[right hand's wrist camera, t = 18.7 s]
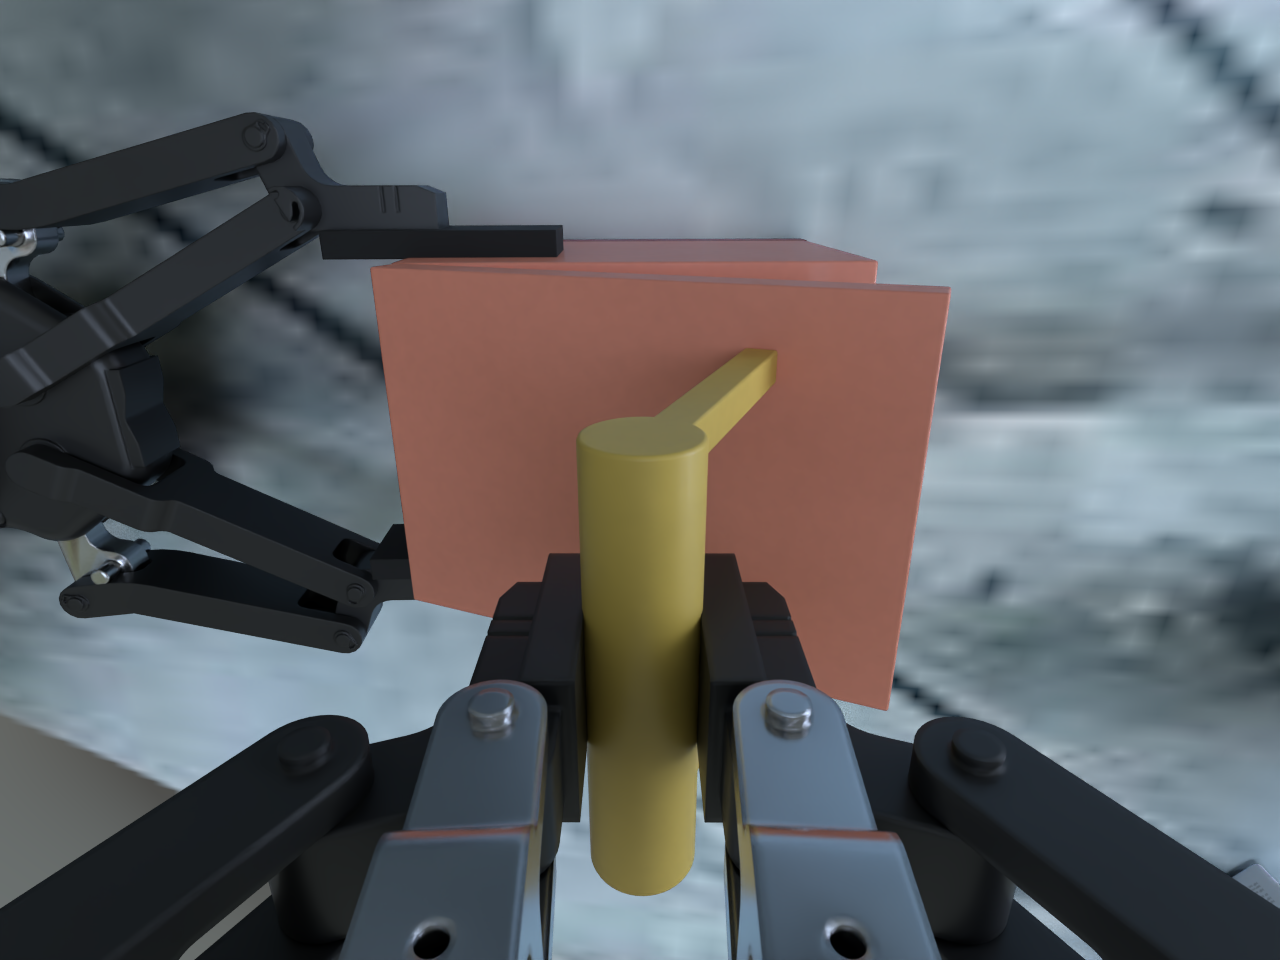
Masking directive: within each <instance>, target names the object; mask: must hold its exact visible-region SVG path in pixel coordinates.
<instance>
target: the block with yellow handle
mask: <svg viewBox="0 0 1280 960" xmlns="http://www.w3.org/2000/svg"><path fill="white" fill-rule="evenodd" d="M370 270H371V278H372V286H373V293H374V301H375V308H376V316H377V323H378V331H379V338H380V346H381V353H382V361H383V368H384V376H385V383H386V391H387V399H388V406H389V414H390V421H391V429H392V436H393V444H394V451H395V459H396V466H397V474H398V481H399V489H400V497H401V504H402V512H403V519H404V527H405V534H406V542H407V549H408V557H409V564H410V572H411V579H412V587H413V594H414V599H415V600H419V601H423V602H427V603H432V604H436V605H440V606H444V607H449V608H453V609H457V610H461V611H466V612H470V613H474V614H478V615H482V616H487V617H491V618H493V615H494V612H495V609H496V606H497V603H498V600H499V598H500V597H501V596H502V595H503V594H504V593H505V592H506V591H508V590H509V589H510V588H511V587H512V586H513V585H514V584H515V583H517V582H542V579H543V575H544V571H545V567H546V563H547V559H548V555H549V553H580V567H581V595H582V611H583V618H584V648H585V677H586V707H587V737H588V742H587V762H588V790H589V817H590V845H591V859H592V862H593V865H594V868H595V869H596V871H597V873H598V874H599V876H600V877H601V878H602V879H603V880H604V881H605V882H606V883H607V884H608V885H609V886H611V887H612V888H614V889H616V890H618V891H620V892H623V893H626V894H629V895H635V896H651V895H656V894H660V893H663V892H665V891H667V890H670V889H671V888H673V887H675V886H676V885H677V884H678V883H680V882H681V881H682V880H683V879H684V877H685V876H686V875H687V873H688V872H689V870H690V868H691V866H692V863H693V860H694V854H695V825H696V796H697V771H698V768H699V761H698V751H697V719H698V690H699V662H700V633H701V614H702V611H703V593H704V564H705V553H734V554H735V556H736V560H737V564H738V568H739V572H740V575H741V579H742V582H767V583H768V584H769V585H771V586H772V587H773V588H774V589H775V590H776V591H777V592H778V593H780V594H781V595H782V596H783V597H784V598H785V600H786V603H787V606H788V609H789V612H790V614H791V620H793V623H794V626H795V629H796V631H797V636H798V637H799V640H800V643H801V646H802V648H803V651H804V654H805V657H806V660H807V663H808V665H809V668H810V671H811V674H812V677H813V680H814V682H815V685H816V688H817V689H819V690H820V691H822V692H824V693H825V694H827V695H828V696H829V697H831V698H834V699H838V700H842V701H846V702H851V703H855V704H859V705H863V706H867V707H872V708H876V709H880V710H884V711H887V710H888V707H889V701H890V694H891V687H892V681H893V674H894V668H895V661H896V654H897V648H898V641H899V634H900V628H901V621H902V615H903V608H904V601H905V595H906V588H907V581H908V575H909V568H910V561H911V555H912V548H913V542H914V535H915V528H916V522H917V515H918V508H919V502H920V495H921V489H922V482H923V475H924V469H925V462H926V455H927V449H928V442H929V436H930V429H931V422H932V416H933V409H934V402H935V396H936V389H937V383H938V376H939V369H940V363H941V356H942V349H943V343H944V336H945V329H946V323H947V316H948V310H949V303H950V296H951V288H950V287H943V286H919V285H895V284H872V283H848V282H824V281H800V280H776V279H753V278H729V277H705V276H681V275H657V274H634V273H610V272H586V271H562V270H538V269H515V268H491V267H467V266H443V265H419V264H390V265H383V266H376V267H371V269H370Z"/></svg>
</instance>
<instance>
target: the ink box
mask: <svg viewBox="0 0 1280 960" xmlns="http://www.w3.org/2000/svg"><path fill="white" fill-rule="evenodd" d="M1232 878H1233V879H1235V880H1237V881H1238V882H1240V883H1241V884H1243V885H1244V886H1246V887H1247V888H1249V889H1250V890H1252V891H1253V892H1255V893H1256V894H1258V895H1260V896H1261V897H1263V898H1264V899H1266V900H1267V901H1269V902H1270V903H1272V904H1273V905H1275V906H1276V907H1278V908H1280V884H1279V883H1278V882H1277V881H1276V880H1275V879H1274V878H1273V877H1272V876H1271V875H1270V874H1269V873H1268V872H1267V871H1266V870H1265V869H1264V868H1263V867H1262V866H1261V865H1260V864H1253V865H1251V866H1249V867H1248V868H1246V869H1245V870H1243V871H1241V872H1240V873H1238V874H1236V875H1235V876H1233V877H1232Z"/></svg>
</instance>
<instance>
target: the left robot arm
mask: <svg viewBox="0 0 1280 960" xmlns="http://www.w3.org/2000/svg"><path fill="white" fill-rule="evenodd" d="M313 147H314V144H313V139H312V136H311V134H310V133H309V131H308V129H307V128H306V127H305V126H303V125H302V124H301V123H299V122H296V121H294V120H290V119H285V118H280V117H275V116H270V115H265V114H260V113H256V112H251V113H243V114H240V115H237V116H233V117H230V118H227V119H223V120H220V121H217V122H213V123H210V124H207V125H203V126H200V127H197V128H193V129H190V130H187V131H183V132H180V133H177V134H173V135H170V136H167V137H163V138H160V139H156V140H153V141H150V142H146V143H143V144H140V145H136V146H133V147H130V148H126V149H123V150H120V151H116V152H113V153H110V154H106V155H103V156H100V157H96V158H93V159H90V160H86V161H83V162H80V163H76V164H73V165H70V166H66V167H63V168H60V169H56V170H53V171H50V172H46V173H43V174H40V175H36V176H33V177H30V178H26V179H23V180H19V179H0V528H15V529H20V530H23V531H27V532H29V533H32V534H34V535H37V536H39V537H42V538H44V539H48V540H53V541H58V543H59V546H60V548H61V550H62V552H63V555H64V557H65V559H66V562H67V564H68V566H69V568H70V571H71V573H72V575H73V578H74V580H75V582H74V583H72V584H71V585H70V586H68V587H67V588H65V589H64V590H63V591H62V592H61V593H60V596H59V601H60V605H61V606H62V608H63V609H64V611H66V612H67V613H68V614H70V615H72V616H74V617H77V618H92V617H102V616H112V615H122V614H132V613H135V614H140V615H146V616H151V617H156V618H161V619H167V620H172V621H177V622H182V623H188V624H193V625H198V626H203V627H209V628H214V629H219V630H224V631H230V632H235V633H240V634H245V635H251V636H256V637H261V638H266V639H272V640H277V641H282V642H287V643H293V644H298V645H303V646H308V647H314V648H319V649H324V650H329V651H335V652H340V653H351V652H354V651H356V650H357V649H358V648H360V646H361V644H362V642H363V641H364V639H365V637H366V635H367V634H368V632H369V630H370V628H371V626H372V625H373V623H374V621H375V619H376V618H377V616H378V614H379V612H380V610H381V608H382V606H383V603H382V602H384V601H389V600H415V599H414V594H413V587H412V579H411V572H410V564H409V557H408V549H407V542H406V534H405V527H404V524H393V525H392V527H391V528H390V530H389V531H388V533H387V534H386V536H385V537H384V539H383V540H382V542H381V543H380V544H379V543H377V542H375V541H372V540H370V539H368V538H365V537H363V536H361V535H358V534H356V533H354V532H352V531H349V530H347V529H345V528H342V527H340V526H338V525H335V524H333V523H331V522H328V521H326V520H324V519H321V518H319V517H317V516H315V515H312V514H310V513H308V512H305V511H303V510H301V509H298V508H296V507H294V506H291V505H289V504H287V503H284V502H282V501H280V500H277V499H275V498H273V497H271V496H268V495H266V494H264V493H261V492H259V491H257V490H254V489H252V488H250V487H247V486H245V485H243V484H240V483H238V482H236V481H234V480H231V479H229V478H227V477H224V476H222V475H220V474H218V473H216V472H215V471H214V468H213V465H212V464H211V463H210V462H208V461H206V460H204V459H202V458H200V457H197V456H195V455H193V454H190V453H188V452H186V451H183V450H181V449H179V447H180V443H179V439H178V435H177V431H176V427H175V424H174V422H173V420H172V418H171V417H170V415H169V413H168V411H167V409H166V407H165V405H164V403H163V380H164V378H163V374H162V370H161V366H160V362H159V358H158V356H149V354H148V352H147V351H146V349H145V348H144V347H145V346H146V345H148V344H150V343H151V342H153V341H155V340H156V339H158V338H159V337H161V336H163V335H164V334H166V333H168V332H169V331H171V330H172V329H174V328H176V327H177V326H178V325H180V322H181V321H183V320H184V319H186V318H188V317H189V316H191V315H193V314H194V313H196V312H197V311H199V310H201V309H202V308H204V307H206V306H207V305H209V304H210V303H212V302H214V301H215V300H217V299H219V298H220V297H222V296H223V295H225V294H227V293H228V292H230V291H231V290H233V289H235V288H236V287H238V286H240V285H241V284H243V283H244V282H246V281H248V280H249V279H251V278H253V277H254V276H256V275H257V274H259V273H261V272H262V271H264V270H266V269H267V268H269V267H270V266H272V265H274V264H275V263H277V262H279V261H280V260H282V259H283V258H285V257H287V256H288V255H290V254H291V253H293V252H295V251H296V250H298V249H300V248H301V247H303V246H304V245H306V244H308V243H309V242H311V241H313V240H314V239H316V238H317V237H320V244H321V250H322V256H323V259H406V258H499V257H558V255H559V254H560V253H561V252H562V251H563V250H564V249H563V225H502V226H449V220H448V210H447V199H446V193H445V192H443V191H441V190H438V189H436V188H433V187H431V186H428V185H382V186H347V185H341V184H339V183H336V182H335V181H333V180H332V179H330V178H329V177H328V176H327V175H326V174H325V173H324V171H323V170H322V168H321V167H320V165H319V162H318V160H317V158H316V156H315V154H314V152H313ZM258 176H260V177H261V179H262V181H263V183H264V185H265V187H266V189H267V191H268V193H269V195H267V196H266V197H264V198H263V199H261V200H260V201H258V202H256V203H255V204H253V205H252V206H250V207H249V208H247V209H245V210H244V211H242V212H241V213H239V214H238V215H236V216H234V217H233V218H231V219H230V220H228V221H227V222H225V223H223V224H222V225H220V226H219V227H217V228H216V229H214V230H212V231H211V232H209V233H208V234H206V235H205V236H203V237H201V238H200V239H198V240H197V241H195V242H193V243H192V244H190V245H189V246H187V247H186V248H184V249H182V250H181V251H179V252H178V253H176V254H175V255H173V256H171V257H170V258H168V259H167V260H165V261H164V262H162V263H160V264H159V265H157V266H156V267H154V268H153V269H151V270H149V271H148V272H146V273H145V274H143V275H142V276H140V277H138V278H137V279H135V280H134V281H132V282H131V283H129V284H127V285H126V286H124V287H123V288H121V289H120V290H118V291H116V292H115V293H113V294H112V295H110V296H109V297H107V298H105V299H103V300H101V301H99V302H96V303H94V304H91V305H89V306H87V307H85V306H83V305H81V304H80V303H78V302H76V301H75V300H73V299H71V298H70V297H68V296H66V295H65V294H63V293H61V292H60V291H58V290H56V289H55V288H53V287H51V286H50V285H48V284H46V283H45V282H43V281H41V280H39V279H38V278H36V277H34V276H31V275H29V266H30V262H31V261H32V260H33V258H35V257H36V256H38V255H42V254H47V253H50V252H52V251H54V250H55V248H56V247H57V245H58V242H59V241H61V240H63V238H64V230H63V228H62V227H66V226H78V225H90V224H95V223H100V222H104V221H108V220H111V219H115V218H118V217H122V216H125V215H128V214H132V213H135V212H139V211H142V210H145V209H149V208H152V207H156V206H159V205H163V204H166V203H169V202H173V201H176V200H180V199H183V198H186V197H190V196H193V195H197V194H200V193H204V192H207V191H210V190H214V189H217V188H221V187H224V186H227V185H231V184H234V183H238V182H241V181H245V180H248V179H251V178H255V177H258ZM155 480H157V481H159V482H157V483H155V484H154V485H150V484H152V483H153V482H154V481H155ZM149 485H150V486H149ZM109 518H110V519H113V520H115V521H118V522H120V523H123V524H125V525H128V526H130V527H132V528H135V529H137V530H141V531H145V532H156V531H167V532H171V533H173V534H176V535H178V536H180V537H183V538H185V539H188V540H190V541H193V542H195V543H197V544H200V545H202V546H205V547H207V548H210V549H212V550H214V551H217V552H219V553H222V554H224V555H227V556H229V557H232V558H234V559H236V560H239V561H241V562H244V563H241V562H236V561H231V560H226V559H221V558H216V557H211V556H206V555H201V554H196V553H191V552H185V551H179V550H165V549H160V550H151V546H150V544H149V542H147V541H146V540H144V539H137V540H135V541H131V540H124V539H119V538H117V537H114V536H113V535H111V534H110V533H109V532H108V531H107V530H106V528H105V527H104V525H103V523H104V522H105V521H106V520H108V519H109Z"/></svg>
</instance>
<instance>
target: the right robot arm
mask: <svg viewBox="0 0 1280 960" xmlns="http://www.w3.org/2000/svg"><path fill="white" fill-rule="evenodd" d="M587 742H588V737H587V707H586V677H585V648H584V618H583V611H582V595H581V567H580V553H549V555H548V559H547V563H546V567H545V571H544V575H543V579H542V582H517V583H515V584H514V585H513V586H512V587H511V588H510V589H509V590H508V591H506V592H505V593H504V594H503V595H502V596H501V597H500V598H499V600H498V603H497V606H496V609H495V612H494V615H493V620H492V621H491V623H490V626H489V629H488V635H487V636H486V638H485V641H484V644H483V647H482V650H481V653H480V655H479V658H478V661H477V664H476V667H475V670H474V673H473V676H472V679H471V682H470V685H469V686H468V687H465V688H463V689H461V690H460V691H458V692H456V693H455V694H453V695H452V696H451V697H449V698H448V699H447V700H446V701H445V702H444V703H443V705H442V706H441V707H440V709H439V711H438V713H437V715H436V719H435V722H434V725H433V726H432V727H430V728H428V729H426V730H423V731H420V732H418V733H414V734H411V735H407V736H403V737H399V738H394V739H390V740H385V741H381V742H377V743H372V744H369V739H368V734H367V732H366V730H365V728H364V727H363V726H362V725H361V724H360V723H359V722H357V721H355V720H353V719H351V718H348V717H344V716H339V715H319V716H313V717H308V718H304V719H300V720H297V721H294V722H291V723H289V724H286V725H284V726H282V727H280V728H278V729H276V730H274V731H273V732H271V733H269V734H268V735H266V736H265V737H263V738H262V739H260V740H259V741H257V742H255V743H254V744H252V745H251V746H249V747H248V748H246V749H245V750H243V751H242V752H240V753H239V754H237V755H236V756H234V757H232V758H231V759H229V760H228V761H226V762H225V763H223V764H222V765H220V766H219V767H217V768H216V769H214V770H212V771H211V772H209V773H208V774H206V775H205V776H203V777H202V778H200V779H199V780H197V781H196V782H194V783H193V784H191V785H189V786H188V787H186V788H185V789H183V790H182V791H180V792H179V793H177V794H176V795H174V796H173V797H171V798H170V799H168V800H166V801H165V802H163V803H162V804H160V805H159V806H157V807H156V808H154V809H153V810H151V811H150V812H148V813H146V814H145V815H143V816H142V817H140V818H139V819H137V820H136V821H134V822H133V823H131V824H130V825H128V826H126V827H125V828H123V829H122V830H120V831H119V832H117V833H116V834H114V835H113V836H111V837H110V838H108V839H106V840H105V841H103V842H102V843H100V844H99V845H97V846H96V847H94V848H93V849H91V850H90V851H88V852H87V853H85V854H84V855H82V856H80V857H79V858H77V859H76V860H74V861H73V862H71V863H70V864H68V865H67V866H65V867H63V868H62V869H60V870H59V871H57V872H56V873H54V874H53V875H51V876H50V877H48V878H47V879H45V880H44V881H42V882H41V883H39V884H37V885H36V886H34V887H33V888H31V889H30V890H28V891H27V892H25V893H24V894H22V895H20V896H19V897H17V898H16V899H14V900H13V901H11V902H10V903H8V904H7V905H5V906H4V907H2V908H0V960H179V959H180V957H181V956H182V955H183V954H184V953H185V951H186V950H187V949H188V948H189V947H190V946H191V945H192V944H194V943H195V942H196V941H197V940H198V939H199V938H201V937H202V936H203V935H204V934H205V933H207V932H208V931H209V930H210V929H211V928H213V927H214V926H215V925H216V924H217V923H219V922H220V921H221V920H222V919H224V918H225V917H226V916H227V915H228V914H230V913H231V912H232V911H233V910H234V909H236V908H237V907H238V906H239V905H240V904H242V903H243V902H244V901H245V900H246V899H248V898H249V897H250V896H251V895H252V894H254V893H255V892H256V891H257V890H259V889H260V888H261V887H262V886H263V885H265V884H266V883H267V882H268V881H269V885H270V889H271V893H272V895H271V896H269V897H268V898H267V899H266V900H265V901H263V902H262V903H261V904H260V905H259V906H258V907H256V908H255V909H254V910H253V911H252V912H250V913H249V914H248V915H247V916H246V917H245V918H243V919H242V920H241V921H240V922H239V923H237V924H236V925H235V926H234V927H233V928H232V929H230V930H229V931H228V932H227V933H226V934H224V935H223V936H222V937H221V938H220V939H219V940H217V941H216V942H215V943H214V944H213V945H212V946H210V947H209V948H208V949H207V950H206V951H204V952H203V953H202V954H201V955H200V956H198V957H197V958H196V959H195V960H552V946H553V926H554V907H555V888H556V857H555V856H556V854H557V852H558V848H559V843H560V835H561V827H562V822H580V817H581V806H582V795H583V785H584V774H585V763H586V753H587ZM697 751H698V761H699V771H700V781H701V791H702V801H703V811H704V821H705V822H723V827H724V835H725V857H724V888H725V907H726V926H727V945H728V960H1085V959H1084V958H1083V957H1082V956H1080V955H1079V954H1078V953H1077V952H1076V951H1074V950H1073V949H1072V948H1071V947H1070V946H1069V945H1067V944H1066V943H1065V942H1064V941H1063V940H1061V939H1060V938H1059V937H1058V936H1057V935H1056V934H1054V933H1053V932H1052V931H1051V930H1050V929H1048V928H1047V927H1046V926H1045V925H1044V924H1043V923H1041V922H1040V921H1039V920H1038V919H1037V918H1035V917H1034V916H1033V915H1032V914H1031V913H1030V912H1028V911H1027V910H1026V909H1025V908H1024V907H1022V906H1021V905H1020V904H1019V903H1018V902H1017V901H1015V900H1014V899H1013V897H1014V893H1015V889H1016V885H1017V886H1018V887H1019V888H1020V889H1021V890H1023V891H1024V892H1025V893H1026V894H1027V895H1029V896H1030V897H1031V898H1032V899H1034V900H1035V901H1036V902H1037V903H1038V904H1040V905H1041V906H1042V907H1043V908H1044V909H1046V910H1047V911H1048V912H1049V913H1050V914H1052V915H1053V916H1054V917H1055V918H1056V919H1058V920H1059V921H1060V922H1061V923H1063V924H1064V925H1065V926H1066V927H1067V928H1069V929H1070V930H1071V931H1072V932H1073V933H1075V934H1076V935H1077V936H1078V937H1079V938H1081V939H1082V940H1083V941H1084V942H1085V943H1087V944H1088V945H1089V946H1090V947H1091V948H1092V949H1093V950H1095V951H1096V953H1097V954H1098V955H1099V956H1100V957H1101V958H1102V959H1103V960H1280V908H1278V907H1276V906H1275V905H1273V904H1272V903H1270V902H1269V901H1267V900H1266V899H1264V898H1263V897H1261V896H1260V895H1258V894H1256V893H1255V892H1253V891H1252V890H1250V889H1249V888H1247V887H1246V886H1244V885H1243V884H1241V883H1240V882H1238V881H1237V880H1235V879H1233V878H1232V877H1230V876H1229V875H1227V874H1226V873H1224V872H1223V871H1221V870H1220V869H1218V868H1217V867H1215V866H1213V865H1212V864H1210V863H1209V862H1207V861H1206V860H1204V859H1203V858H1201V857H1200V856H1198V855H1197V854H1195V853H1194V852H1192V851H1190V850H1189V849H1187V848H1186V847H1184V846H1183V845H1181V844H1180V843H1178V842H1177V841H1175V840H1174V839H1172V838H1170V837H1169V836H1167V835H1166V834H1164V833H1163V832H1161V831H1160V830H1158V829H1157V828H1155V827H1154V826H1152V825H1150V824H1149V823H1147V822H1146V821H1144V820H1143V819H1141V818H1140V817H1138V816H1137V815H1135V814H1134V813H1132V812H1131V811H1129V810H1127V809H1126V808H1124V807H1123V806H1121V805H1120V804H1118V803H1117V802H1115V801H1114V800H1112V799H1111V798H1109V797H1107V796H1106V795H1104V794H1103V793H1101V792H1100V791H1098V790H1097V789H1095V788H1094V787H1092V786H1091V785H1089V784H1088V783H1086V782H1084V781H1083V780H1081V779H1080V778H1078V777H1077V776H1075V775H1074V774H1072V773H1071V772H1069V771H1068V770H1066V769H1064V768H1063V767H1061V766H1060V765H1058V764H1057V763H1055V762H1054V761H1052V760H1051V759H1049V758H1048V757H1046V756H1044V755H1043V754H1041V753H1040V752H1038V751H1037V750H1035V749H1034V748H1032V747H1031V746H1029V745H1028V744H1026V743H1025V742H1023V741H1021V740H1020V739H1018V738H1017V737H1015V736H1014V735H1012V734H1010V733H1009V732H1007V731H1005V730H1003V729H1001V728H999V727H997V726H995V725H992V724H989V723H986V722H984V721H980V720H976V719H971V718H965V717H942V718H938V719H934V720H931V721H929V722H927V723H925V724H924V725H922V726H921V727H920V728H919V729H918V731H917V733H916V735H915V738H914V744H912V743H908V742H904V741H899V740H895V739H890V738H886V737H882V736H878V735H874V734H870V733H867V732H864V731H862V730H859V729H857V728H855V727H853V726H851V725H849V724H847V723H846V722H845V719H844V715H843V713H842V711H841V709H840V707H839V706H838V705H837V703H836V702H835V701H834V700H833V699H832V698H831V697H829V696H828V695H827V694H825V693H824V692H822V691H820V690H819V689H817V688H816V685H815V682H814V680H813V677H812V674H811V671H810V668H809V665H808V663H807V660H806V657H805V654H804V651H803V648H802V646H801V643H800V640H799V637H798V636H797V631H796V629H795V626H794V623H793V620H791V614H790V612H789V609H788V606H787V603H786V600H785V598H784V597H783V596H782V595H781V594H780V593H778V592H777V591H776V590H775V589H774V588H773V587H772V586H771V585H769V584H768V583H767V582H742V579H741V575H740V572H739V568H738V564H737V560H736V556H735V554H734V553H705V564H704V593H703V611H702V614H701V633H700V662H699V690H698V719H697Z"/></svg>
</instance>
